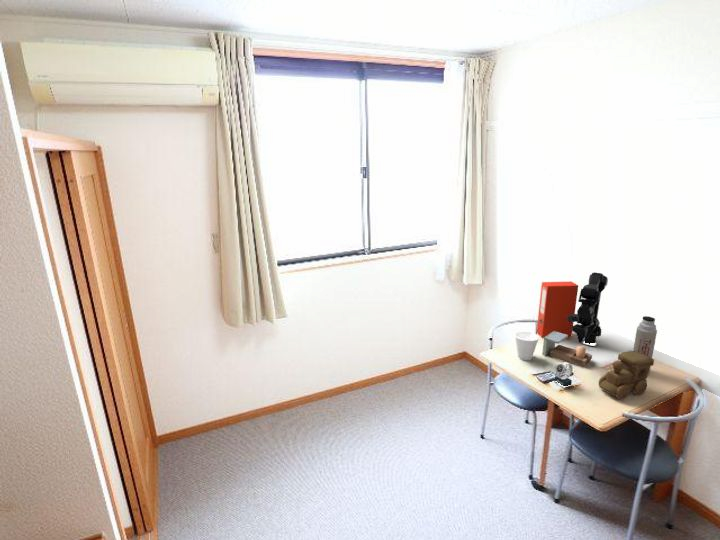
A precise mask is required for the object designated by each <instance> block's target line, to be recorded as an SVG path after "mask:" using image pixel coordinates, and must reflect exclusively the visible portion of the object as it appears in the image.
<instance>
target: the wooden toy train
mask: <svg viewBox="0 0 720 540" xmlns="http://www.w3.org/2000/svg"><path fill="white" fill-rule="evenodd" d="M654 362H655V359H654V358H653V357H652V358H650V357H649V356H647V355H644V354H642V353H640V352H637V351H633V350H627V351H624V352H620V353H618V356H617V360H615V361H613V362H612V363H611V366H612V368H613V369H611V370H608V371H606V374H604V375H602V376H601V377H600V379H599V381H598V387H599V388H600V389H602V390H603V391H605V392H607V393H608V394H610V395H612V396H616V398H617V399H618V400H621V401H622V400H626V398H627V397H629V395H630V393H631V392H632V391H633V392H634V394H636V395H638V396H639V395H643V394H644V393H646V392H647V389H648V382H647V381H648V380H647V378H648V375H649V374H650V372H649V369H650V370H651V367H652V366H654V364H655V363H654ZM650 366H651V367H650ZM648 373H649V374H648Z"/></svg>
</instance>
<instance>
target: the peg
mask: <svg viewBox="0 0 720 540" xmlns="http://www.w3.org/2000/svg"><path fill="white" fill-rule="evenodd" d="M576 350H577V352H576V357H579V358H582V359H585V353H587V351H586V350H587V348H586V347H585V346H583V345H577V346H576Z"/></svg>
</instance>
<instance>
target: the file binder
mask: <svg viewBox="0 0 720 540" xmlns="http://www.w3.org/2000/svg"><path fill="white" fill-rule="evenodd" d="M578 292H579V285H578V284H576V283H575V282H573V281H572V280H571V281H541V285H540V295H539V297H540V298H539V303H538V304H539V305H538V306H539V307H538V314H537V323H536V325H537V326H536V333H537V335H538V336H539V337H540V338H541V339H544V337H546V336H547V335H549V334H550V333H552V332H553V331H556V332H559V333H562V334H566V335H568V337H567V338H572V336H573V331H572V327H573V326H574V323H575V322H569V321H568V320H567V316H568V315H570V314H576V305H577V297H578Z"/></svg>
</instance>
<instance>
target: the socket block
mask: <svg viewBox="0 0 720 540" xmlns="http://www.w3.org/2000/svg"><path fill="white" fill-rule="evenodd" d="M576 352H577V349H574V348H571V347H569V346H565V345H562V344H557V345H555V348H553V349H552V350H551V352H549V357H550V358H554V359H556V360H559V361H563V362H567V363H569V364H571V365H575V366H577V367H581V368H583V369H584V368H585V367H587V365H589V364H590V363H591V362H592V361H591V359H593V354H591V353H587V352H585V359H582V358H579V357H576ZM590 361H591V362H590Z"/></svg>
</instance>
